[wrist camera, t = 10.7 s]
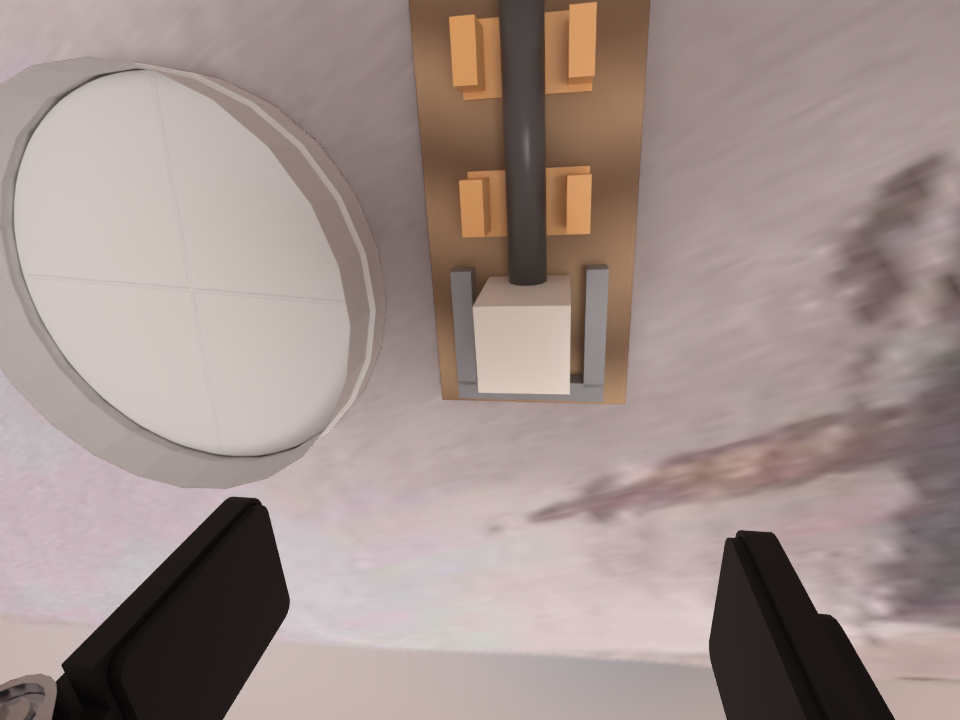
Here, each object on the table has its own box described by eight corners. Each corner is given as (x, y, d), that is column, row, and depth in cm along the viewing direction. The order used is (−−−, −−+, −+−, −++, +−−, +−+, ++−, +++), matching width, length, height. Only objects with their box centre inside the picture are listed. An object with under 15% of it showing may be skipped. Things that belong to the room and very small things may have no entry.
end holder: (455, 267, 26) (450, 271, 25) (607, 264, 24) (608, 269, 23) (463, 388, 28) (459, 398, 27) (601, 391, 27) (602, 401, 26)
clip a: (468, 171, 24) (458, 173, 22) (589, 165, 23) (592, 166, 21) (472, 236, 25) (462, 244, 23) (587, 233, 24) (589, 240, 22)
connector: (472, -39, 20) (445, -88, 16) (573, -51, 20) (575, -106, 15) (493, 349, 27) (478, 392, 23) (569, 350, 26) (569, 394, 22)
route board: (403, -137, 21) (396, -151, 20) (657, -177, 19) (662, -194, 18) (446, 392, 30) (442, 399, 29) (623, 396, 28) (625, 404, 27)
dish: (382, 74, 24) (339, 55, 20) (394, 465, 33) (365, 516, 28) (-17, 65, 27) (-135, 47, 23) (89, 426, 36) (18, 466, 31)
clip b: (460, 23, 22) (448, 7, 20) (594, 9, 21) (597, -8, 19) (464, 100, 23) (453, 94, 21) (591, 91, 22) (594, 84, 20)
